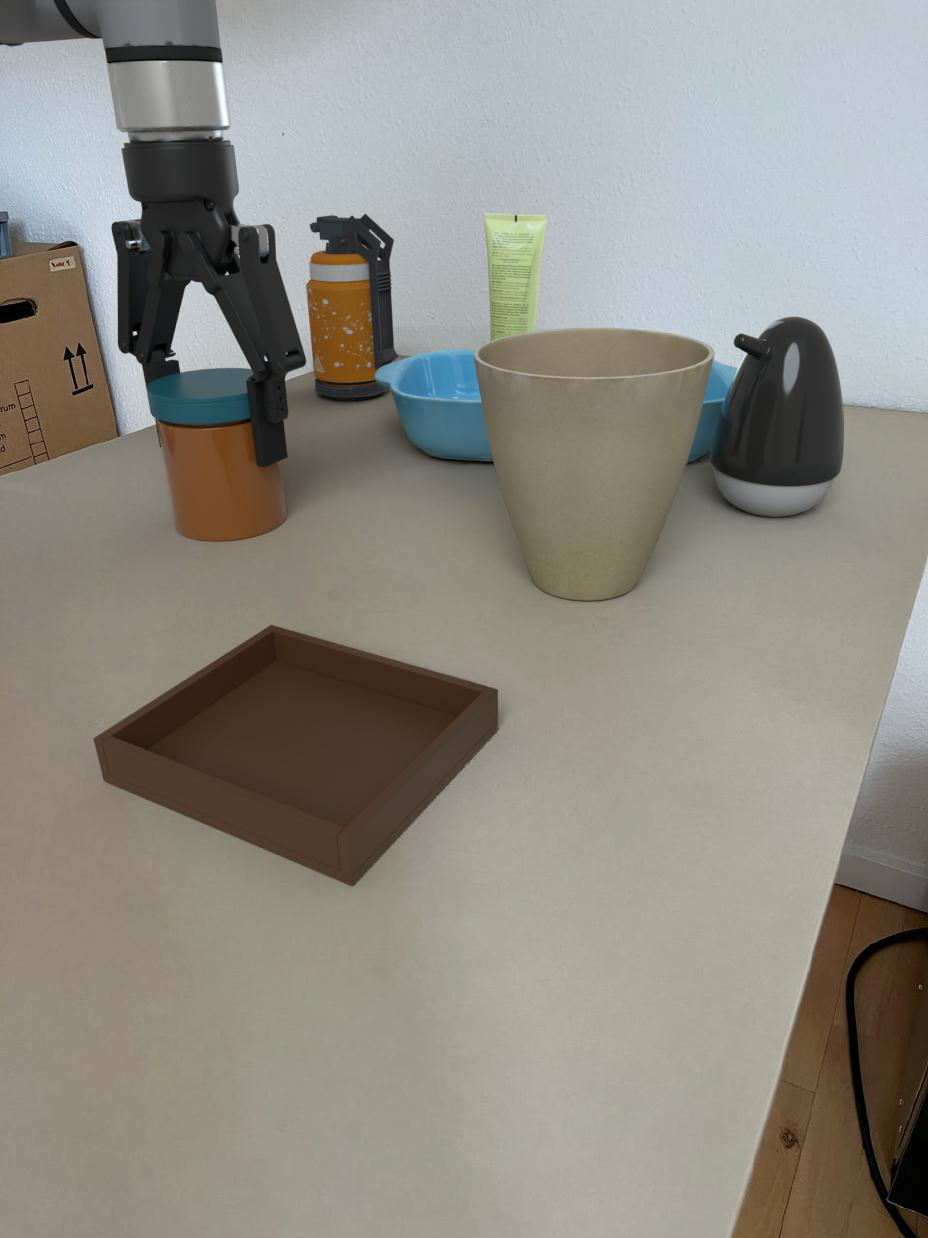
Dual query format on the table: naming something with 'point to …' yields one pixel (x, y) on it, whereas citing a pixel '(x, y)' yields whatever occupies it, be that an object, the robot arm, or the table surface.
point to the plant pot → (590, 446)
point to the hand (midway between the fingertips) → (222, 452)
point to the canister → (350, 307)
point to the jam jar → (220, 481)
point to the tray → (303, 747)
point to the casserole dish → (452, 410)
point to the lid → (201, 396)
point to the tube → (513, 271)
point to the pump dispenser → (780, 421)
